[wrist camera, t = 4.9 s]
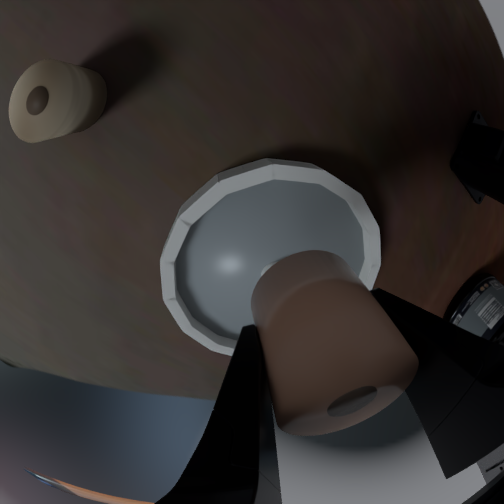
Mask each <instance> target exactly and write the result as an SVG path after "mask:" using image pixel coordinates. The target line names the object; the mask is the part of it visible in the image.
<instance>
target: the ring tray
mask: <svg viewBox="0 0 504 504" xmlns="http://www.w3.org/2000/svg"><path fill="white" fill-rule="evenodd" d="M308 250H323V251H328V252H331V253H334V254H336V255H338V256H340V257H341V258H343V259H344V260H345V261H346V262H347V263H348V264H349V266H350V267H351V268H352V269H353V271H354V272H355V273H356V274H357V276H358V277H359V278H360V279H361V281H362V282H363V283H364V285H365V286H366V287H367V288H368V290H372V287H373V285H374V282H375V279H376V277H377V274H378V271H379V268H380V264H381V248H380V229H379V226H378V224H377V222H376V221H375V219H374V217H373V215H372V213H371V211H370V209H369V207H368V206H367V204H366V202H365V200H364V198H363V197H362V195H361V194H360V193H358V192H357V191H355V190H354V189H352V188H351V187H349V186H348V185H346V184H345V183H344V182H342V181H340V180H339V179H337V178H336V177H334V176H333V175H331V174H330V173H328V172H327V171H325V170H323V169H321V168H320V167H318V166H316V165H314V164H312V163H305V162H298V161H289V160H281V159H271V158H266V159H265V158H264V159H260V160H257V161H254V162H250V163H247V164H244V165H241V166H238V167H235V168H232V169H229V170H226V171H223V172H220V173H218V174H216V175H215V176H214V177H213V178H212V179H210V180H209V181H208V182H207V183H206V184H205V185H204V186H202V187H201V188H200V189H199V190H198V191H197V192H196V193H195V194H193V195H192V196H191V197H190V198H189V199H188V200H187V201H186V202H185V203H184V204H182V206H181V208H180V210H179V212H178V214H177V217H176V219H175V221H174V224H173V226H172V228H171V231H170V233H169V235H168V238H167V240H166V243H165V245H164V249H163V252H162V255H161V259H160V270H161V282H162V293H163V300H164V303H165V304H166V306H167V307H168V309H169V311H170V312H171V314H172V315H173V317H174V319H175V320H176V322H177V323H178V325H179V326H180V328H181V330H182V331H183V332H185V333H186V334H187V335H189V336H190V337H192V338H193V339H195V340H196V341H198V342H199V343H201V344H202V345H204V346H205V347H207V348H208V349H210V350H212V351H215V352H219V353H222V354H226V355H230V356H232V355H233V352H234V349H235V346H236V343H237V340H238V337H239V334H240V332H241V329H242V327H243V326H246V325H250V324H254V320H253V316H252V311H251V297H252V293H253V290H254V288H255V286H256V284H257V282H258V281H259V279H260V278H261V276H262V275H263V274H264V273H265V272H266V271H267V270H268V269H269V268H270V267H271V266H273V265H274V264H275V263H277V262H278V261H280V260H282V259H283V258H285V257H287V256H290V255H292V254H295V253H298V252H302V251H308Z"/></svg>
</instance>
